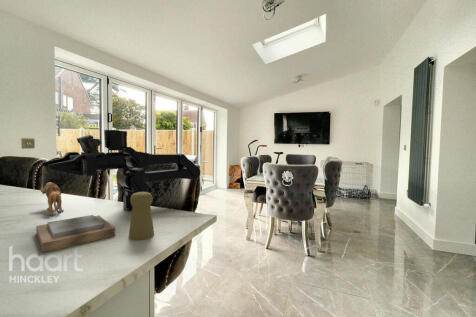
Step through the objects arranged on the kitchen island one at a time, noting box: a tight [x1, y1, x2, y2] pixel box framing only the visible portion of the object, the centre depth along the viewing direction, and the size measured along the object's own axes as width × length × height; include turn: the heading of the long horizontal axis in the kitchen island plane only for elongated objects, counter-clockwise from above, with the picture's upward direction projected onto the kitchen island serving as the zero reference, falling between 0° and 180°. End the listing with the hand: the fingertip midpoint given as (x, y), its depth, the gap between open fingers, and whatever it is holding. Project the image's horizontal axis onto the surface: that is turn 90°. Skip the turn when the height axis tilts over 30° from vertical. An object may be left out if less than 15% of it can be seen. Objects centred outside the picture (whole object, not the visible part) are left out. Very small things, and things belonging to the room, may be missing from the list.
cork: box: [128, 191, 155, 241], centre depth 60 cm, size 6×6×11 cm
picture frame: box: [35, 214, 116, 253], centre depth 60 cm, size 14×14×3 cm
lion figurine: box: [39, 182, 64, 216], centre depth 80 cm, size 15×5×9 cm, turn 50°
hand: (45, 165), depth 66 cm, fingers open, 9 cm apart
